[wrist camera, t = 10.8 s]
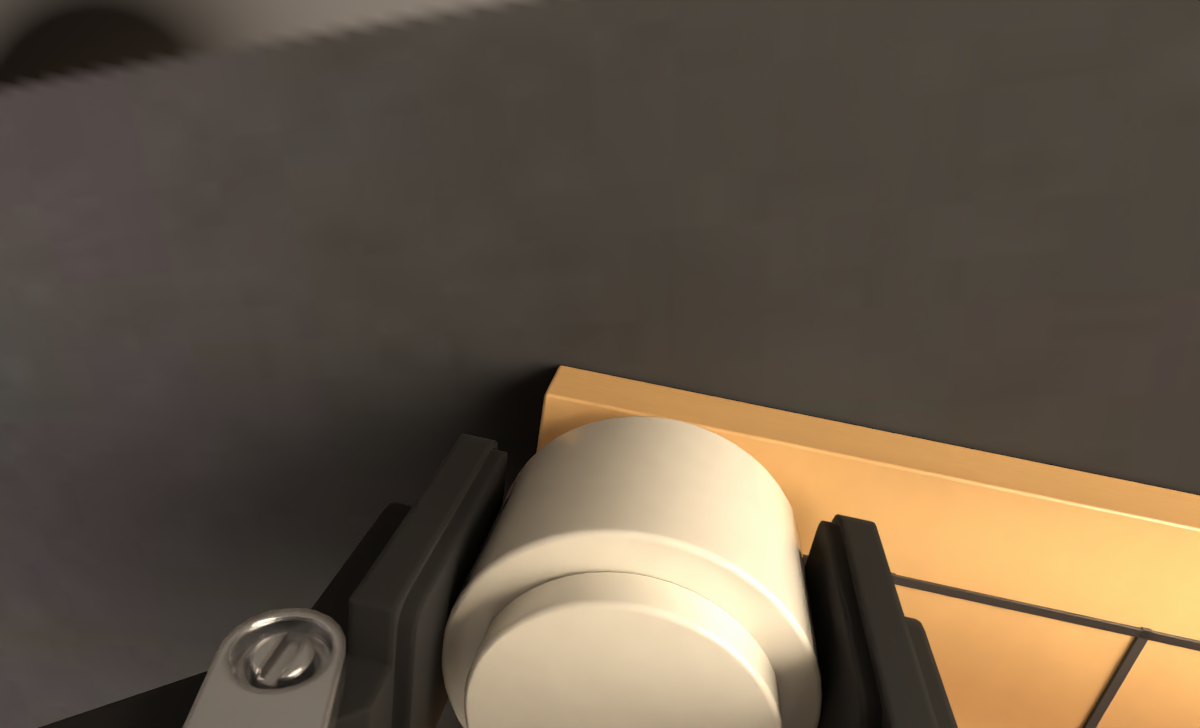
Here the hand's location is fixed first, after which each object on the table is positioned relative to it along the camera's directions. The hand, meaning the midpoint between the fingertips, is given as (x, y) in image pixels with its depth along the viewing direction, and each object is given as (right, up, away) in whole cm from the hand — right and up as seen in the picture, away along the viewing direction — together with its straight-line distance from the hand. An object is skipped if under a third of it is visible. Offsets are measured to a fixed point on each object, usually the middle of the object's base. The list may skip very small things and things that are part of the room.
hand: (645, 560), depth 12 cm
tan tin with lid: (0, 0, 0) cm, 0 cm away
